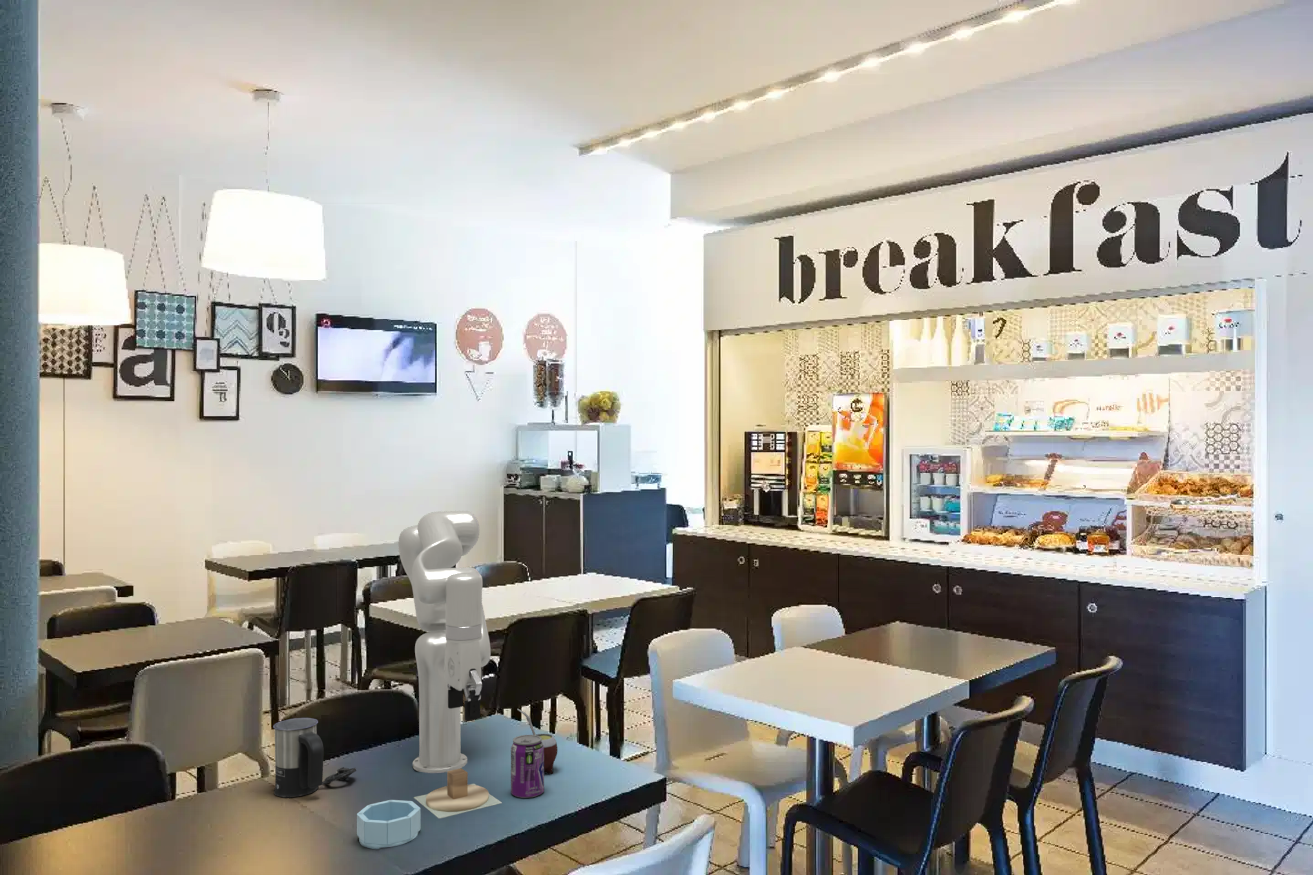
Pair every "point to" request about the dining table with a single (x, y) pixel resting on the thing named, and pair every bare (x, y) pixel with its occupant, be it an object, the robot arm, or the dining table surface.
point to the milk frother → (300, 758)
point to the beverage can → (527, 766)
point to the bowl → (388, 823)
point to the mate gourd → (546, 747)
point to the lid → (457, 794)
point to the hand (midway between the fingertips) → (463, 713)
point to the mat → (441, 814)
